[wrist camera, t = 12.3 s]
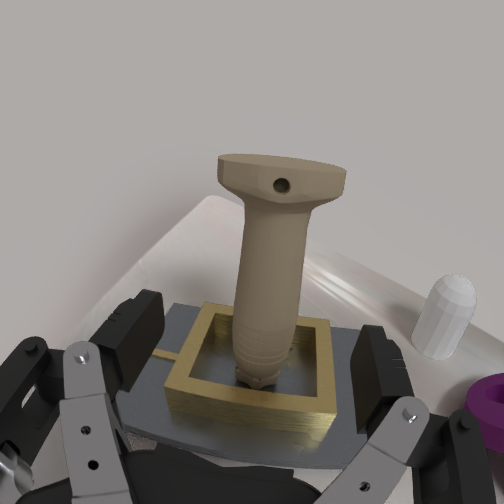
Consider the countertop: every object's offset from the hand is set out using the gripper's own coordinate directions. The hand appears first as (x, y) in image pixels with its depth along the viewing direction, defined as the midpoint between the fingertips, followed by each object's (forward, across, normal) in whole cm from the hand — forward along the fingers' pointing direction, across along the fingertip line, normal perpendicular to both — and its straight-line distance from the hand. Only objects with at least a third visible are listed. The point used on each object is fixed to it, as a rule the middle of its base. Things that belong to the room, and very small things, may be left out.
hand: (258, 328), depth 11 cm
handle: (+6, 0, +10) cm, 11 cm away
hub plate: (+6, 0, +10) cm, 12 cm away
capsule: (+13, -18, +11) cm, 25 cm away
